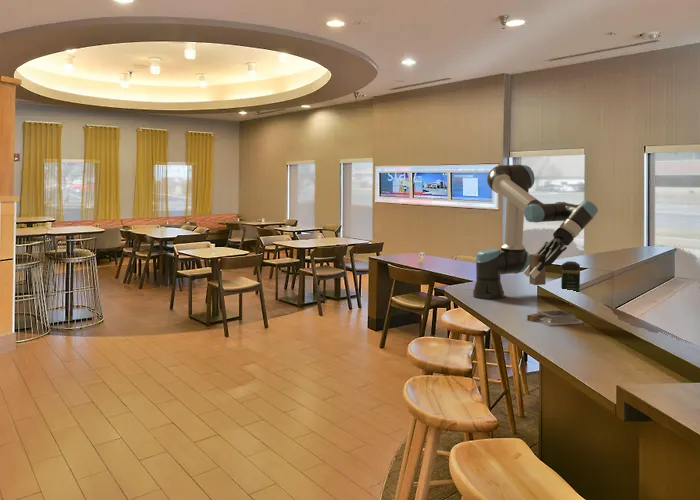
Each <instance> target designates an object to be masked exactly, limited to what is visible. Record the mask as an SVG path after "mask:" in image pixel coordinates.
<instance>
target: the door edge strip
mask: <svg viewBox="0 0 700 500" xmlns="http://www.w3.org/2000/svg"><path fill="white" fill-rule="evenodd" d="M526 317H527V319H526V321H528V322H529V321H530V322H535V321H537V320H536V318H539V317H540V314H538V312H537V313H536V312H535V313H532V314H527V316H526Z"/></svg>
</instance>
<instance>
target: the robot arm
mask: <svg viewBox="0 0 700 500" xmlns="http://www.w3.org/2000/svg"><path fill="white" fill-rule="evenodd" d="M486 179H487V180H486V182H487V184H488V187H489V188H490V189H491V190H492V191H493V192H494V193H496V194H500V195H501V196H503V197H504V198H505V199H506V201H505V202H506V203H505V205H506V206H505V225H504V243H503V244H502V245H501V246H500V247H501V248H487V249H482V250H479V251H478V252H477V253H476V258H475V263H476V265H475V266H476V270H475V271H476V274H475V275H476V277H475V278H476V281H475V285H474V289H473V291H472V296H473V297H474V298H477V299H483V300H484V299H486V300H491V299H492V300H494V299H496V300H497V299H502V298H505V291H504V289H503V285H502V281H501V277H502V275H509V274H515V275H516V274H519V273H523V274H524V275H525V276H526V277H528V278H530V275H531V276H532V277H533V278H534V279H535V278H536V276H537V275H538V274H539V273H540V272H541V271H542V270H543V269H544V268H545V269H546V267H547V266H552V265H553V263H554V262H555V261H557V259H558V258H559V257H560V256H561V254H563V253H564V252H565V251H566V250H567V249H568V247H567V246H569V245H570V244H572V242H573V241H574V240H575V239H574V238H576V237H577V236H579V234H580V233H581V232H582V231H583V230H584V228H585V227H586V226H588V224H589V223H590V222H591V221H592V220H593V219H594V218H595V216H596V215H597V214H598V212H599V210H598V207H597V206H596V204H595V203H594V202H592V201H590V200H588V199H585V200H582V201H581V202H579V204H573V203H568V202H565V201H558V202H555V203H543V202H542V201H540V200H539V199H537V198H536V197H535V196H533V195H532V194H530V193H529V189H530V190H531V189H532V188H533V186H534V185H535V180H536V177H535V173H534V170H533V169H532V168H531V167H530V166H528V165H526V164H506V165H505V164H501V165H497V166H494V167H493V168H491V169H490V171H489V172H488V174H487V178H486ZM524 220H526V222H528V223H545V222H546V223H548V222H562V223H561V224H560V225H559V227H558V228H557V229H556V230H555V231H554V232H553V233H552V236H553V239H551V240H550V241H549V242H548V241H544V243H543V244H542V246H541V247H540V248H539V249H538V250H537V252H535V254H543V255H545V258H544V259H543V260H540V261H541V262H542V263H541V262H539V263H538V265H537V266H536V267H535V268H534V269H533V270H532V271H531V272H530V269H529V252H528V250H526V247H525V245H524V244H523V241H524V240H523V238H524V222H525V221H524Z"/></svg>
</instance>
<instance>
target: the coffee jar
mask: <svg viewBox="0 0 700 500" xmlns="http://www.w3.org/2000/svg"><path fill="white" fill-rule="evenodd" d="M580 284H581V265H580V263H578V262H576V261H571V260H570V261H565V262H564V263H562V264H561V286H560V287H561V288H562V289H567V290H573V291H576V292H580V290H581V289H580V288H581V287H580V286H581V285H580Z"/></svg>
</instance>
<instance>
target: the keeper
mask: <svg viewBox="0 0 700 500" xmlns="http://www.w3.org/2000/svg"><path fill="white" fill-rule="evenodd" d="M537 313H538V314H540V317H539V318H536V321H537V322H539V323H541V324H544V325H546V326H547V327H554V326H565V325H567V326H568V325H569V324H570V325H583V322H584V321H583V320H581V319H578V318H576V315H575V314H573V313H570V312H568V311H565V310H562V309H551V310H539V311H537Z"/></svg>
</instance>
